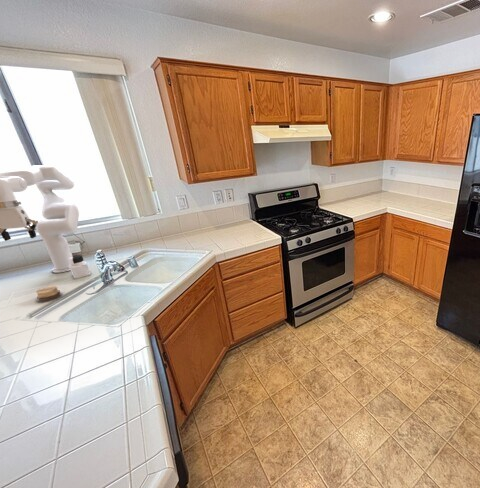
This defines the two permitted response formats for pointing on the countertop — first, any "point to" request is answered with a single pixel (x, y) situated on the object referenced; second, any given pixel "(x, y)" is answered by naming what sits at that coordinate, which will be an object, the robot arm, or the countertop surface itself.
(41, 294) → the maple chip
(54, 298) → the walnut chip
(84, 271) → the medicine bottle
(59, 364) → the countertop surface
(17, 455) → the countertop surface
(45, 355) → the countertop surface
